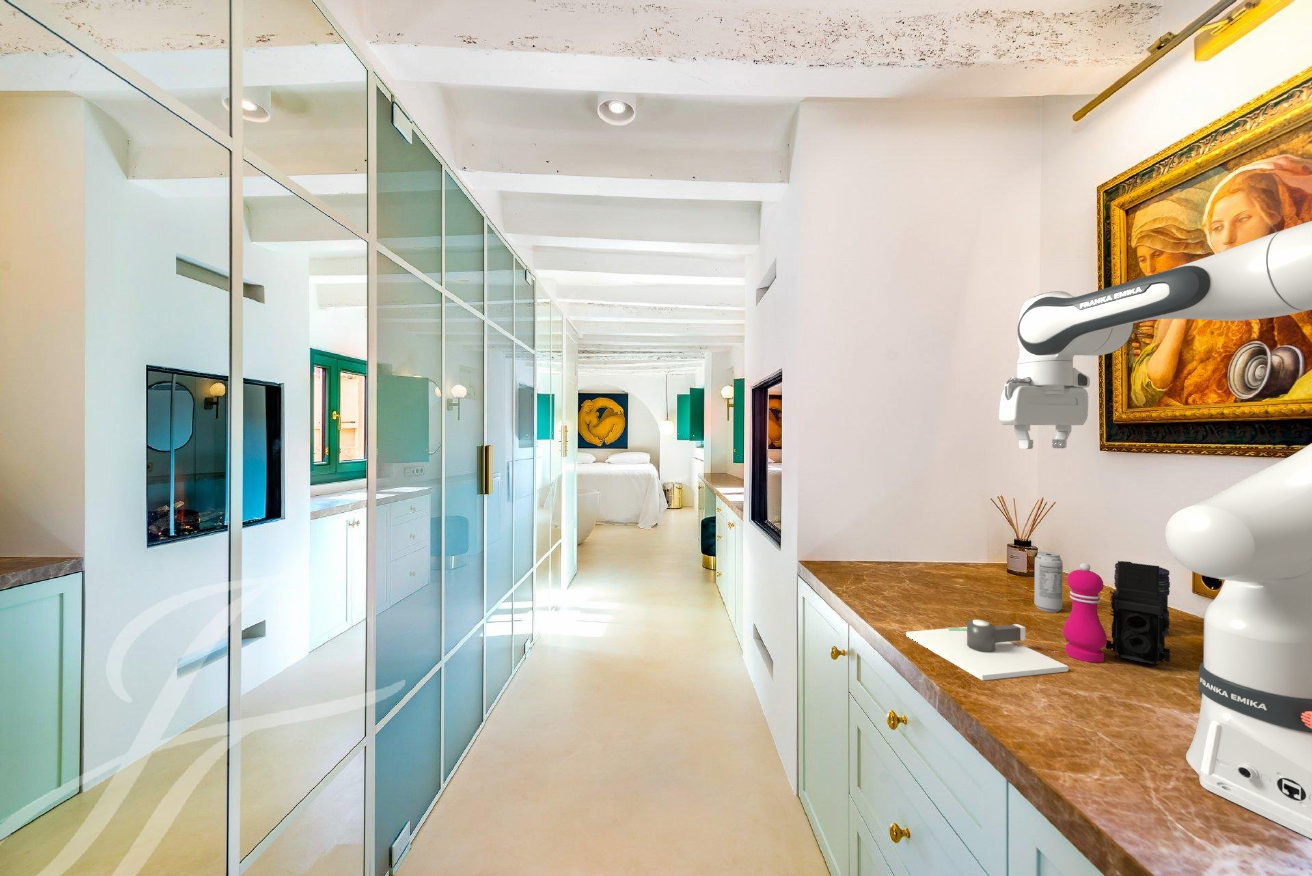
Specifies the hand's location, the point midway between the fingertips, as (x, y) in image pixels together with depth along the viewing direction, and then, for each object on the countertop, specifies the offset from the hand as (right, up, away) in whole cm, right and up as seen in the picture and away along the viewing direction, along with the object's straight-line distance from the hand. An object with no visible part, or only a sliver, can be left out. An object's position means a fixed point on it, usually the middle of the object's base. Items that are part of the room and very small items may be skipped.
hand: (1042, 448), depth 101 cm
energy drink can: (+30, -44, +38) cm, 65 cm away
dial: (-2, -43, +11) cm, 45 cm away
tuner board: (-6, -45, +10) cm, 46 cm away
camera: (+26, -45, +7) cm, 52 cm away
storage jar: (+42, -45, +24) cm, 65 cm away
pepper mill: (+15, -45, +8) cm, 48 cm away
